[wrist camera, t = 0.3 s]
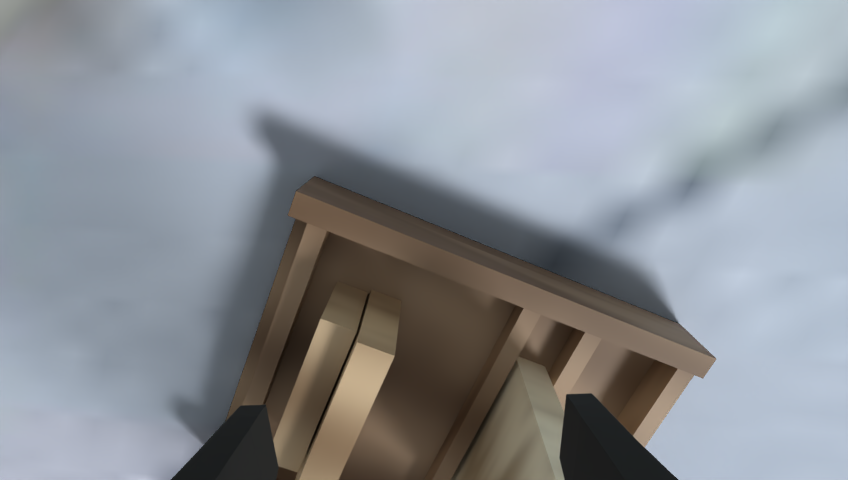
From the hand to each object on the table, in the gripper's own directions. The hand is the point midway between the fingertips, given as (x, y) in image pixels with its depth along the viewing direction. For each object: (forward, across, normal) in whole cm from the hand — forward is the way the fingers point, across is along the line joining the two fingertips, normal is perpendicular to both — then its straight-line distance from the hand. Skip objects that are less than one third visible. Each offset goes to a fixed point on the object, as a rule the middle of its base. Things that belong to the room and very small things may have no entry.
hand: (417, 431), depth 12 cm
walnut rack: (+10, -1, +8) cm, 13 cm away
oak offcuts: (+9, +4, +5) cm, 11 cm away
